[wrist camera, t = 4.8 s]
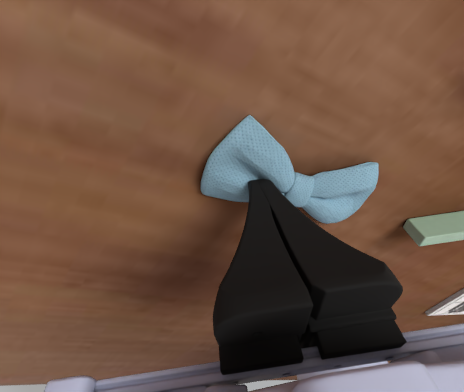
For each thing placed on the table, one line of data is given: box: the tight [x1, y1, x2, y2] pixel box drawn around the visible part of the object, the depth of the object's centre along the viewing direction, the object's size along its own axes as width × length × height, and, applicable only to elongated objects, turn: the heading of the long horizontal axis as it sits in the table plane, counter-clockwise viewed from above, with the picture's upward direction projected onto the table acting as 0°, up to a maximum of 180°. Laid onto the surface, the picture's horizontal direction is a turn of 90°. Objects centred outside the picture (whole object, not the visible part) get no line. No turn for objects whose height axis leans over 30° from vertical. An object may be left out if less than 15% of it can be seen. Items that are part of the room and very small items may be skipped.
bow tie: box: [200, 115, 378, 224], centre depth 13 cm, size 10×2×5 cm
